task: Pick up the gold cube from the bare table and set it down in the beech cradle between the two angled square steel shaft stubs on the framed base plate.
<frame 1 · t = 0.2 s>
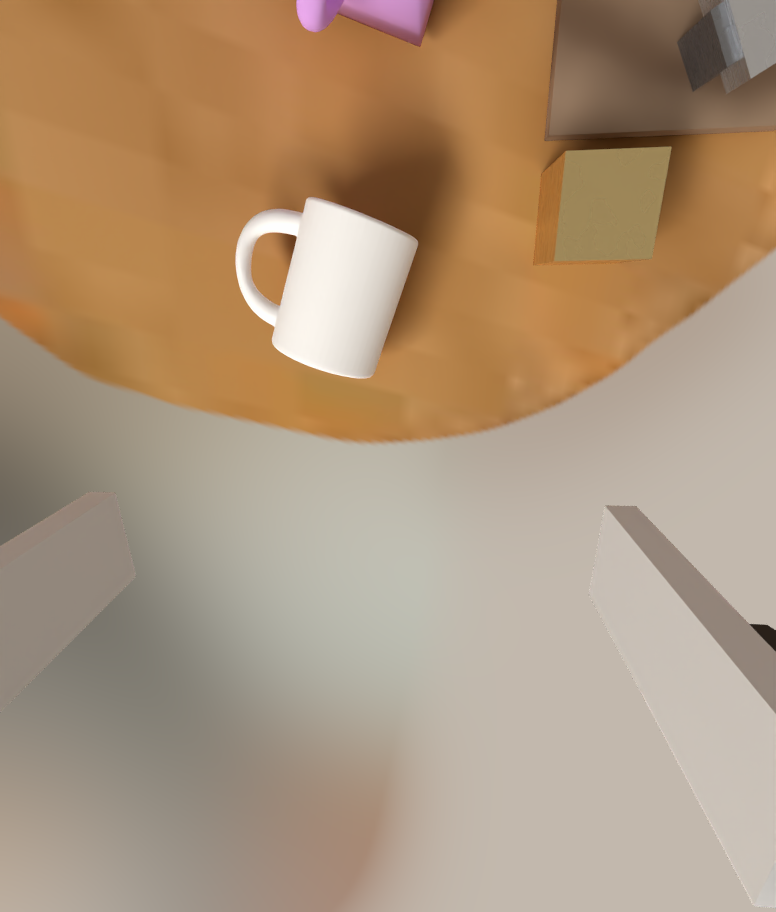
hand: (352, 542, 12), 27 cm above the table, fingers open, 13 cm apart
mug: (328, 283, 36), on the table
gold cube: (578, 220, 33), on the table
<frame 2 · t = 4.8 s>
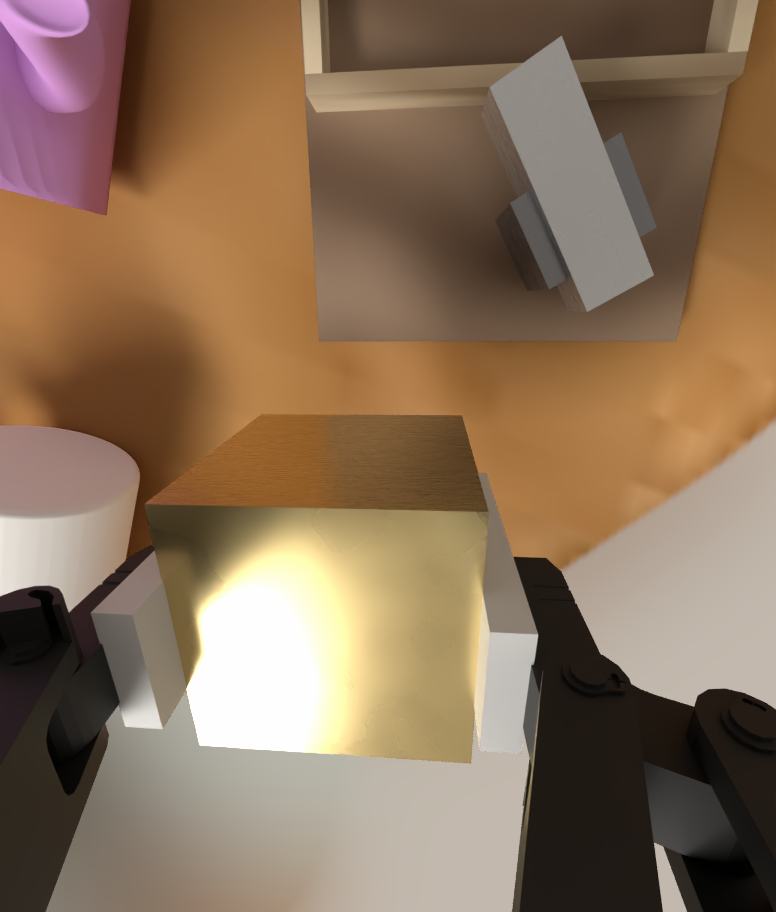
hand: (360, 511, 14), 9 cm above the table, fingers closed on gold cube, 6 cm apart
framed base plate: (509, 15, 16), on the table
teapot: (25, 63, 18), on the table
mug: (59, 501, 25), on the table
gold cube: (363, 505, 14), point 8 cm above the table, touching gripper
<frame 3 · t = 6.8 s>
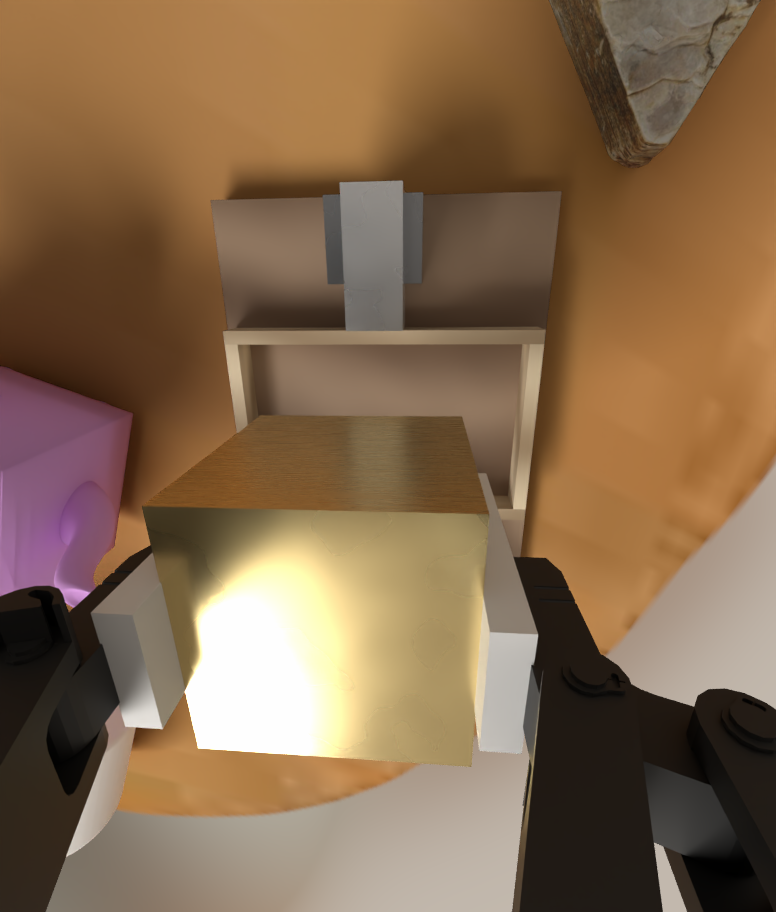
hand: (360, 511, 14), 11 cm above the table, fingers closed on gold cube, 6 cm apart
framed base plate: (386, 441, 24), on the table
teapot: (54, 443, 26), on the table
shafts: (408, 453, 21), in the framed base plate, point 3 cm above the table
mug: (79, 691, 34), on the table
gold cube: (363, 506, 14), point 10 cm above the table, touching gripper
when the fingers open (2 cm above the table, at t = 8.9 s): gold cube stays where it is, resting on framed base plate.
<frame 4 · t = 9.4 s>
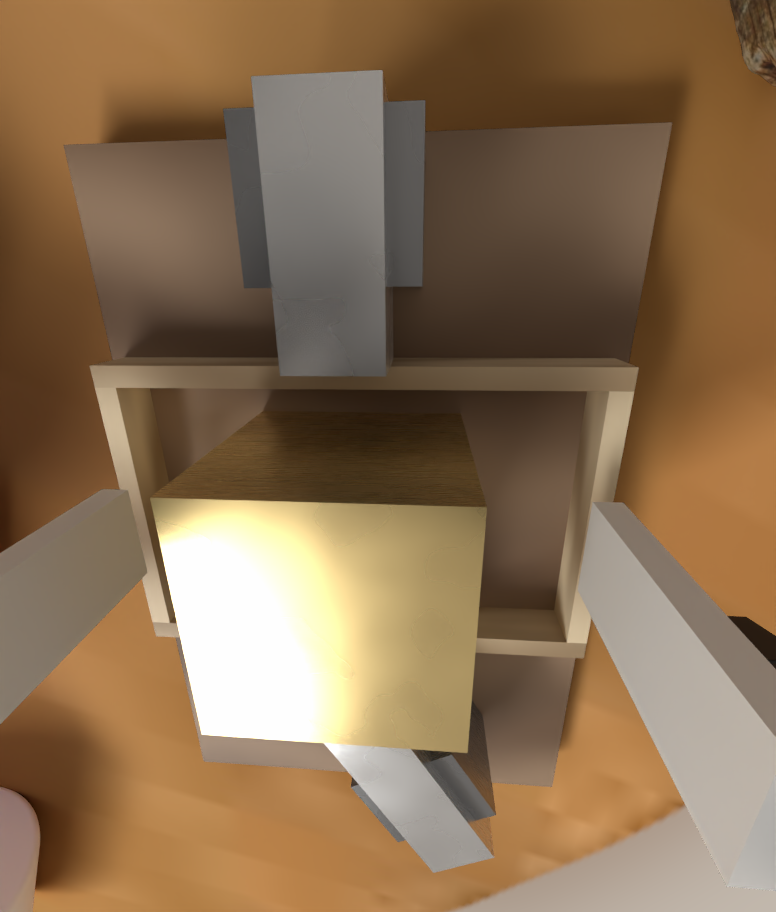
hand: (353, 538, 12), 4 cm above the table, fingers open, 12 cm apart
framed base plate: (369, 523, 16), on the table
shafts: (400, 562, 13), in the framed base plate, point 3 cm above the table
gold cube: (363, 501, 14), point 1 cm above the table, touching framed base plate
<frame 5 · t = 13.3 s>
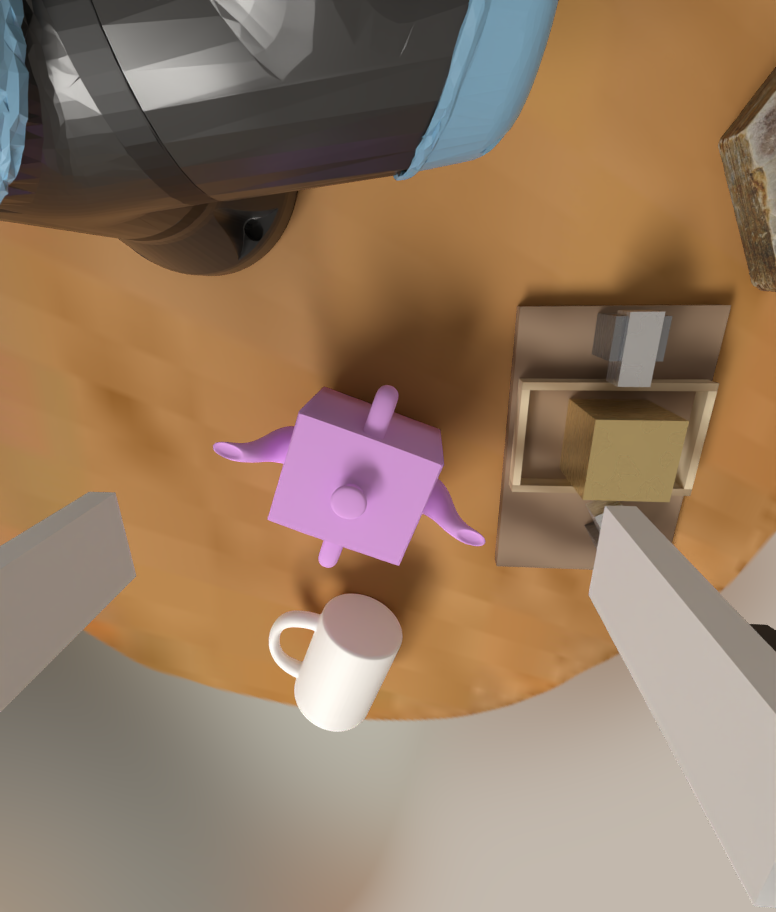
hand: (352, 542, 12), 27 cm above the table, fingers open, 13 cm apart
framed base plate: (594, 447, 38), on the table
teapot: (367, 447, 40), on the table
shafts: (626, 454, 35), in the framed base plate, point 3 cm above the table
mug: (336, 623, 47), on the table
gold cube: (601, 435, 36), point 1 cm above the table, touching framed base plate
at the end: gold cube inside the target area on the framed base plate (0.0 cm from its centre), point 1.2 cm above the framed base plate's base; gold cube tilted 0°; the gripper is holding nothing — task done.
